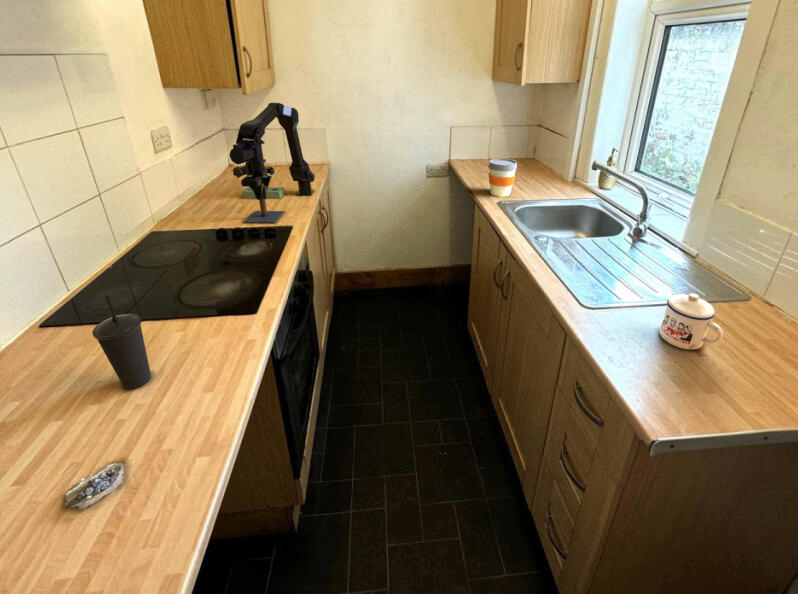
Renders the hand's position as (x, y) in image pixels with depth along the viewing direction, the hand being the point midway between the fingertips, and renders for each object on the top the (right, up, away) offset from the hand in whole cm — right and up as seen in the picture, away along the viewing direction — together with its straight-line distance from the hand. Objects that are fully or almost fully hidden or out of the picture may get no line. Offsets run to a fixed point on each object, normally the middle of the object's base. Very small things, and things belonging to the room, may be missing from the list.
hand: (261, 197), depth 162 cm
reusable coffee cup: (+100, +5, +32) cm, 105 cm away
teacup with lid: (+122, -40, -67) cm, 145 cm away
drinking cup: (+4, -45, -78) cm, 91 cm away
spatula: (0, -7, +3) cm, 8 cm away
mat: (0, -8, +3) cm, 8 cm away
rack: (-9, +4, +28) cm, 30 cm away
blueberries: (+12, -54, -99) cm, 113 cm away
